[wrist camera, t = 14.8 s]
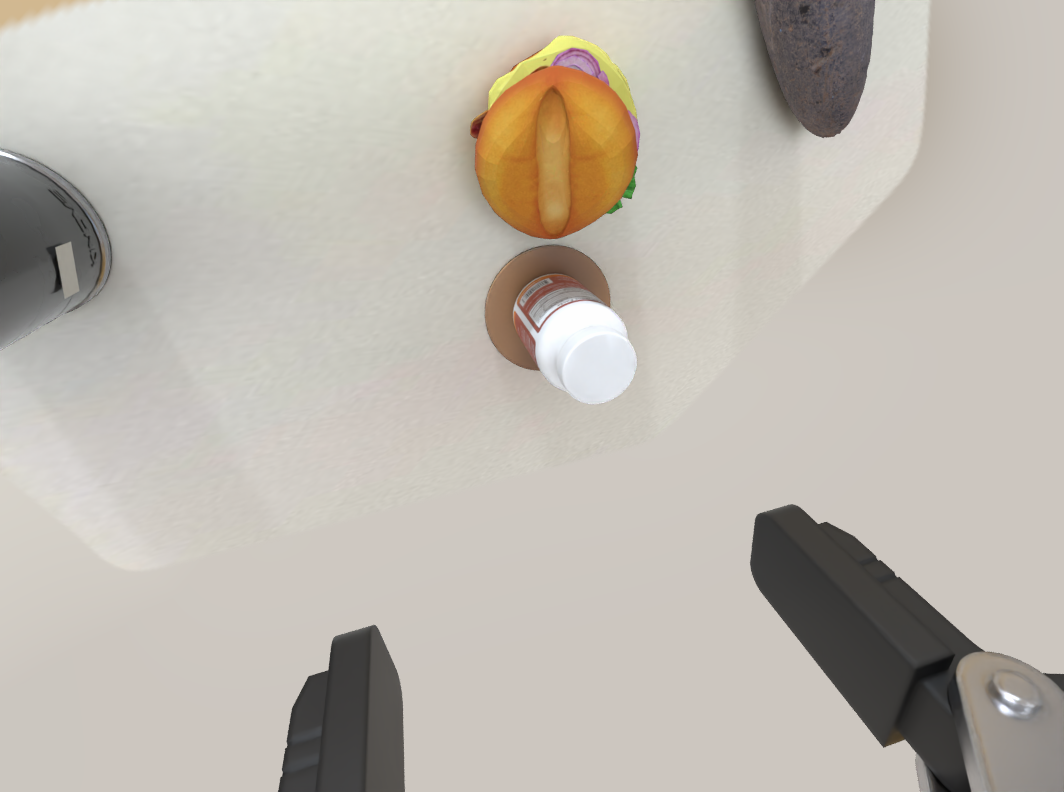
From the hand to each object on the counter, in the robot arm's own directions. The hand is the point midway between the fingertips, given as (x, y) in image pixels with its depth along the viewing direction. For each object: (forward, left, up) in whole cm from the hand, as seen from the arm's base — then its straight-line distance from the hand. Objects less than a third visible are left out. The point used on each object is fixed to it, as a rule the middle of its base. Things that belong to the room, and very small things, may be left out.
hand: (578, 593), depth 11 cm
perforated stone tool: (+25, +11, -30) cm, 41 cm away
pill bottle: (+7, -5, -30) cm, 31 cm away
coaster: (+7, -6, -30) cm, 31 cm away
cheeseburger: (+8, +6, -30) cm, 32 cm away
